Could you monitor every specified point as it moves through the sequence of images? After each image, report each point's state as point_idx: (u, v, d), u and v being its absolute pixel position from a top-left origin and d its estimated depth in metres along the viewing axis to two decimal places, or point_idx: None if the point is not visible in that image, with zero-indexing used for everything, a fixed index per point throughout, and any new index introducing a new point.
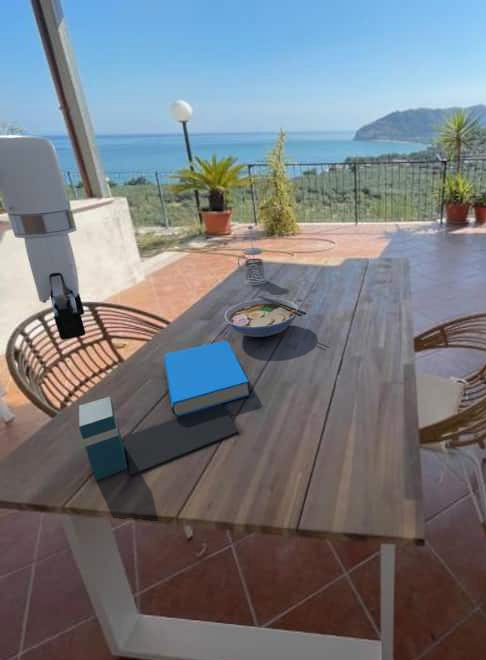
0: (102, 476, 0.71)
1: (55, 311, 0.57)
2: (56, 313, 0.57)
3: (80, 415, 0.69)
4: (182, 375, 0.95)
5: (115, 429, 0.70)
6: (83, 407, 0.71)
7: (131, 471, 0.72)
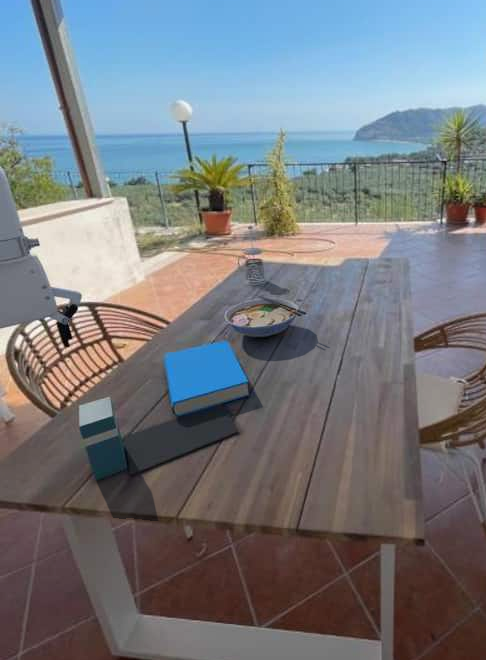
0: (102, 476, 0.71)
1: None
2: None
3: (80, 415, 0.69)
4: (182, 375, 0.95)
5: (115, 429, 0.70)
6: (83, 407, 0.71)
7: (131, 471, 0.72)
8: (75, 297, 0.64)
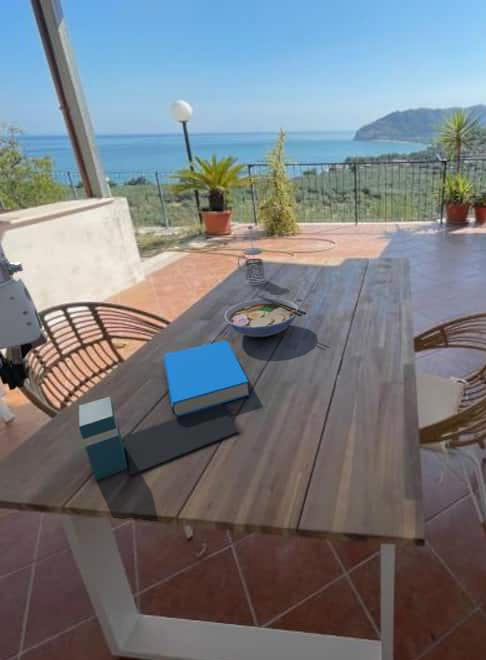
0: (102, 476, 0.71)
1: None
2: None
3: (80, 415, 0.69)
4: (182, 375, 0.95)
5: (115, 429, 0.70)
6: (83, 407, 0.71)
7: (131, 471, 0.72)
8: (39, 340, 0.62)
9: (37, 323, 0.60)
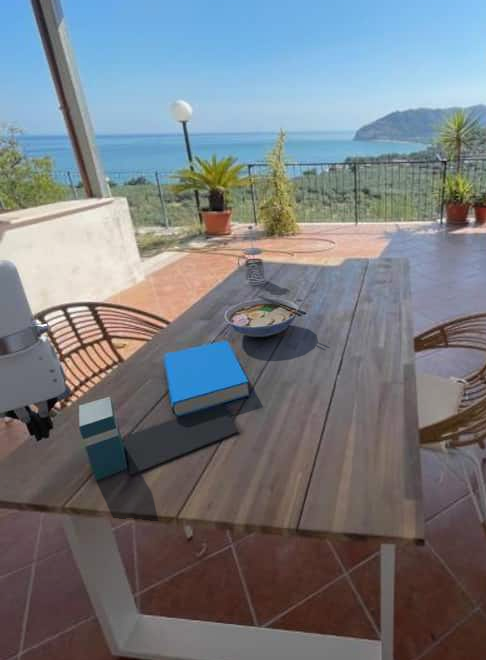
0: (102, 476, 0.71)
1: None
2: None
3: (80, 415, 0.69)
4: (182, 375, 0.95)
5: (115, 429, 0.70)
6: (83, 407, 0.71)
7: (131, 471, 0.72)
8: (64, 394, 0.66)
9: (62, 379, 0.65)
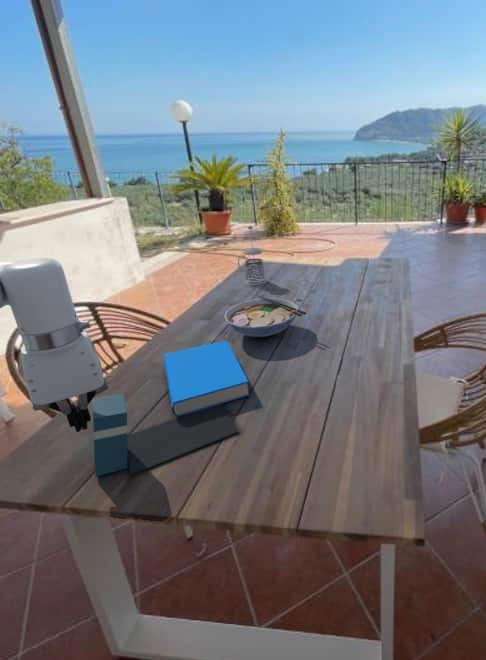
0: (102, 473, 0.70)
1: None
2: None
3: (94, 407, 0.70)
4: (182, 375, 0.95)
5: (125, 426, 0.71)
6: (96, 400, 0.72)
7: (131, 471, 0.72)
8: (102, 387, 0.69)
9: (101, 373, 0.68)
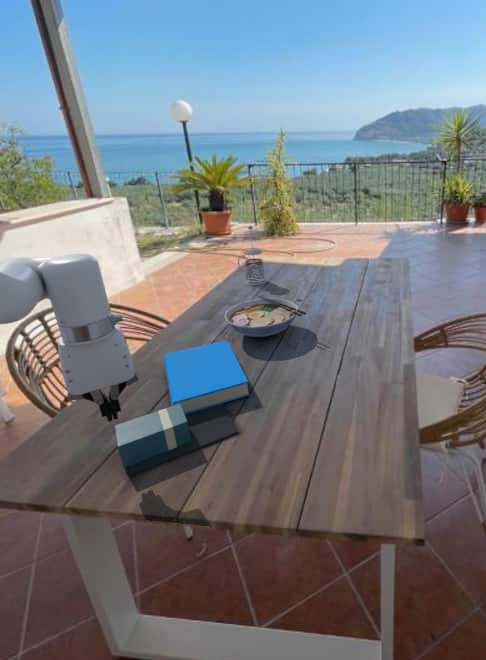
0: (121, 450, 0.71)
1: None
2: None
3: (183, 413, 0.80)
4: (182, 375, 0.95)
5: (175, 446, 0.77)
6: (181, 408, 0.82)
7: (131, 471, 0.72)
8: (132, 378, 0.72)
9: (132, 364, 0.70)
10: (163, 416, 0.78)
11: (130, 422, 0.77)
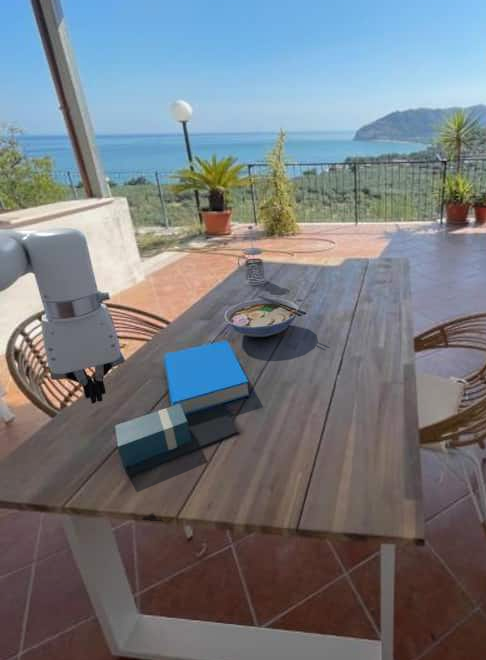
0: (121, 450, 0.71)
1: None
2: None
3: (183, 413, 0.80)
4: (182, 375, 0.95)
5: (175, 446, 0.77)
6: (181, 408, 0.82)
7: (131, 471, 0.72)
8: (118, 360, 0.70)
9: (118, 345, 0.68)
10: (163, 416, 0.78)
11: (130, 422, 0.77)
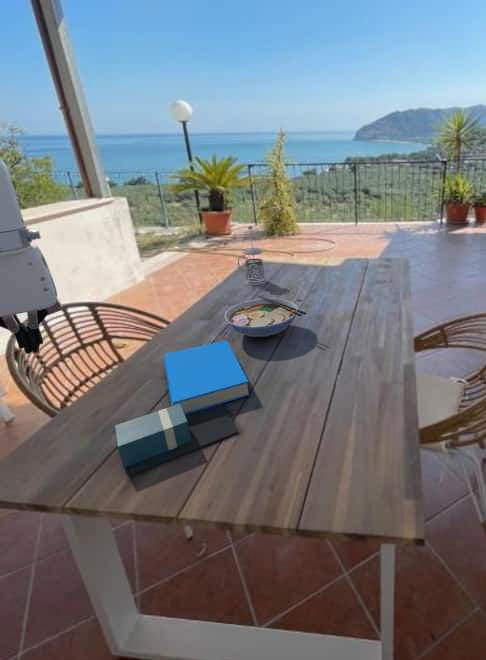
0: (121, 450, 0.71)
1: None
2: None
3: (183, 413, 0.80)
4: (182, 375, 0.95)
5: (175, 446, 0.77)
6: (181, 408, 0.82)
7: (131, 471, 0.72)
8: (55, 307, 0.64)
9: (53, 290, 0.63)
10: (163, 416, 0.78)
11: (130, 422, 0.77)
